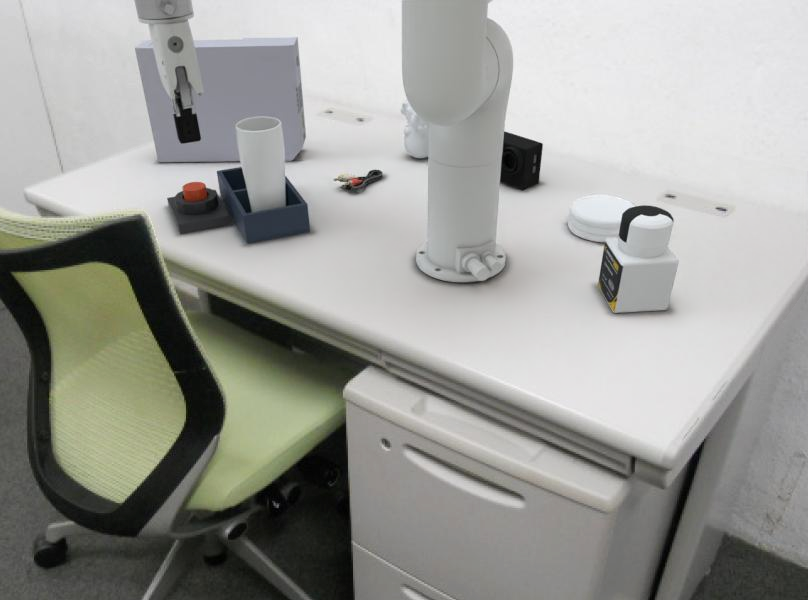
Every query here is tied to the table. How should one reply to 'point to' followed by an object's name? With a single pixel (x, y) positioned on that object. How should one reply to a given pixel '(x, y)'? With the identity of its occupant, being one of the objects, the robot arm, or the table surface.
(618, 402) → the table surface
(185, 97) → the robot arm
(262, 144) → the drinking glass
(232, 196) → the divided tray
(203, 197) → the button
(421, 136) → the figurine
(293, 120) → the game console
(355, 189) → the composite cable
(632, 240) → the medicine bottle
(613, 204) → the round white container
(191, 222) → the control block
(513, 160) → the digital camera
